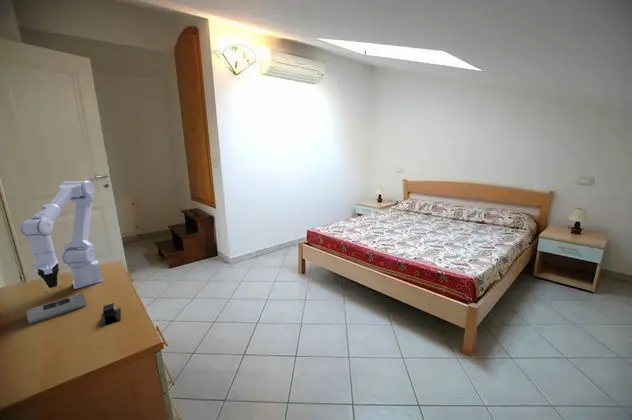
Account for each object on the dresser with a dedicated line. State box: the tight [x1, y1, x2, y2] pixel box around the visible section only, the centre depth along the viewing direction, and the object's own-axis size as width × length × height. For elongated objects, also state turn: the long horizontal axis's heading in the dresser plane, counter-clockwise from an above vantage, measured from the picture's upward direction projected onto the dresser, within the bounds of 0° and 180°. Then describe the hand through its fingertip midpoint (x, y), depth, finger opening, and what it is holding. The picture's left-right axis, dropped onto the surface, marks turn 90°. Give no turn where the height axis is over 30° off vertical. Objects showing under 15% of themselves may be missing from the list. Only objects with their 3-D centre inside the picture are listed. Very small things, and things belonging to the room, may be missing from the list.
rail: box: [26, 292, 87, 325], centre depth 100 cm, size 15×5×3 cm, turn 134°
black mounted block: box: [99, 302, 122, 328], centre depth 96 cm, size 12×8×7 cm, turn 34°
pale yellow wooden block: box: [40, 271, 64, 294], centre depth 104 cm, size 5×2×6 cm, turn 134°
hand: (53, 285), depth 104 cm, fingers closed on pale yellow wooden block, 2 cm apart
